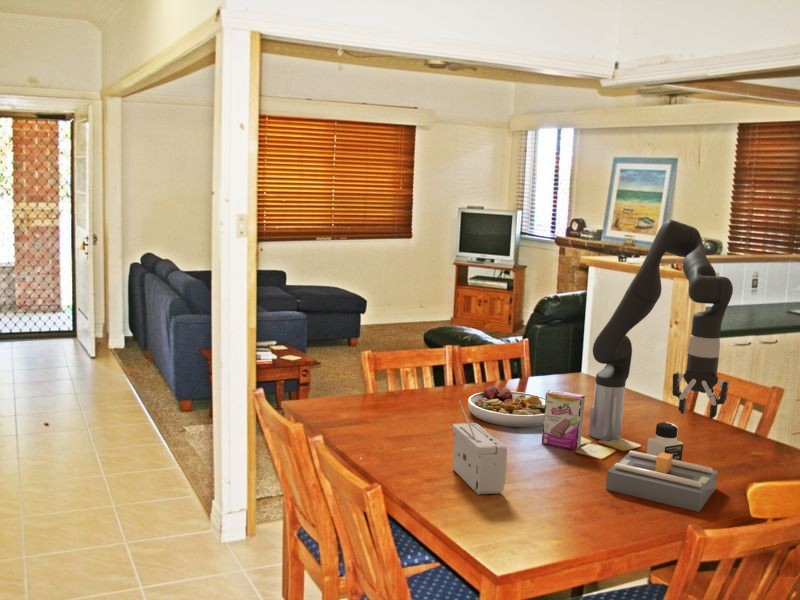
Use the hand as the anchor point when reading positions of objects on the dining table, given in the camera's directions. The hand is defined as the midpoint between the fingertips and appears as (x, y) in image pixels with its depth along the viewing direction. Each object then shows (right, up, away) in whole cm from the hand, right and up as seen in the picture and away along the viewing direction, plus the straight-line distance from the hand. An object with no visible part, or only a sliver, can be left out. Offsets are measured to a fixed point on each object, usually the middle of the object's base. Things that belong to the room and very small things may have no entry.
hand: (696, 415), depth 222 cm
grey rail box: (-7, -21, +7) cm, 23 cm away
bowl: (-39, -10, +68) cm, 79 cm away
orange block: (-7, -16, +6) cm, 18 cm away
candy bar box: (-28, -15, +39) cm, 50 cm away
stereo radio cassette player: (-57, -19, +6) cm, 60 cm away
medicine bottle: (0, -18, +27) cm, 33 cm away
